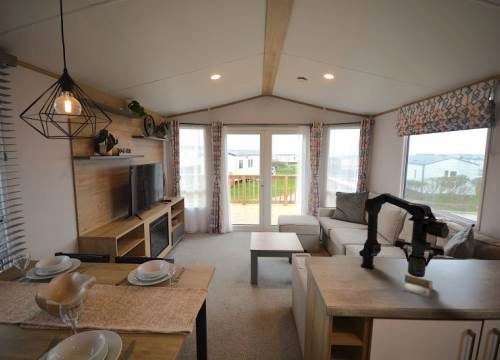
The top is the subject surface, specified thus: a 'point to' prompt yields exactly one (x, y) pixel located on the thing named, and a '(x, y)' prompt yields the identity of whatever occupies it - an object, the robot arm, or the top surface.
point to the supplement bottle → (417, 264)
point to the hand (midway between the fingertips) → (416, 264)
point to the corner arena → (418, 286)
